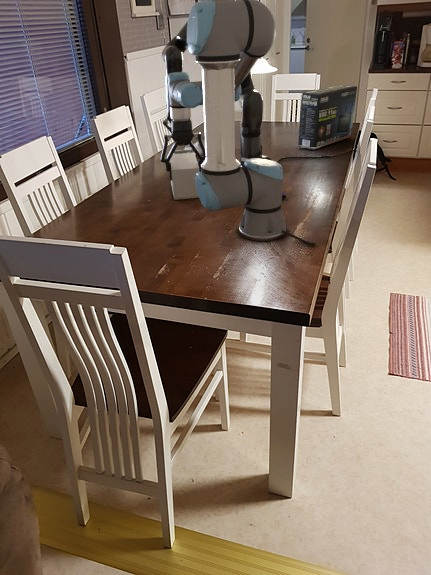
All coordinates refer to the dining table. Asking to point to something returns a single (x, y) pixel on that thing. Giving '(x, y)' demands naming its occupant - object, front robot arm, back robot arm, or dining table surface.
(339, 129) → the router box
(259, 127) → the back robot arm
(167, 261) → the dining table surface
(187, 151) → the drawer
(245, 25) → the front robot arm
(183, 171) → the white box
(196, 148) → the fossil
